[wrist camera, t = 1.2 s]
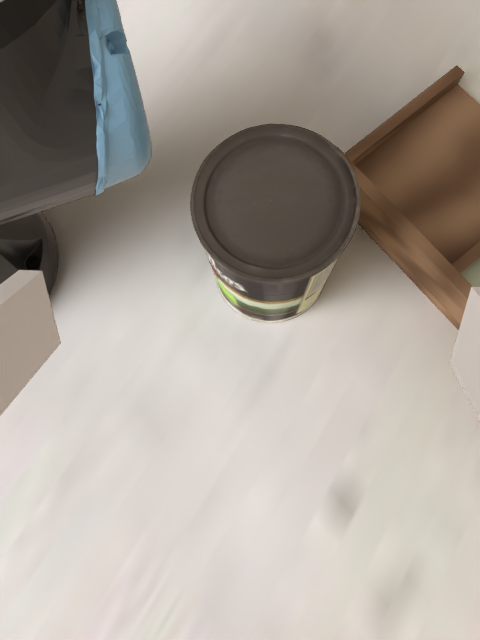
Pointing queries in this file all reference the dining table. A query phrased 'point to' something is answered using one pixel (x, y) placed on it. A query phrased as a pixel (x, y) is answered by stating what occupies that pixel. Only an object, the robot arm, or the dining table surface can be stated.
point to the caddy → (426, 192)
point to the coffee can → (274, 217)
